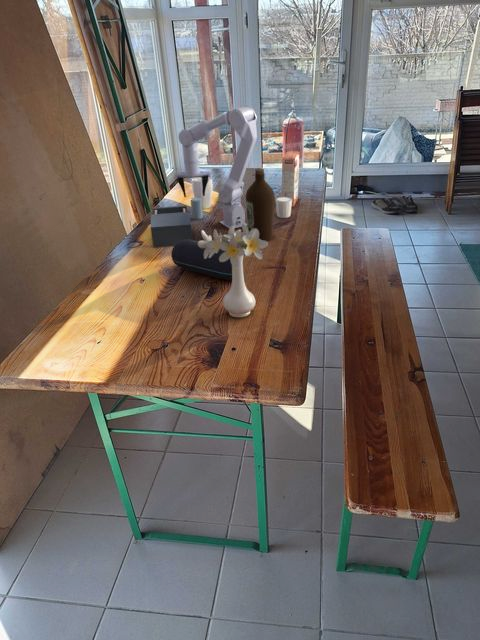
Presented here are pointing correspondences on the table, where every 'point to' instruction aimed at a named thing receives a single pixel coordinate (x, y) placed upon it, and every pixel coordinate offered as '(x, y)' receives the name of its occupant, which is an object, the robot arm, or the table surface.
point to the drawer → (169, 209)
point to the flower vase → (235, 264)
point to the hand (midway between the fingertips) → (194, 195)
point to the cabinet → (170, 228)
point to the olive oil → (260, 206)
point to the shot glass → (283, 207)
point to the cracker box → (290, 175)
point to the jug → (196, 208)
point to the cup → (198, 192)
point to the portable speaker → (200, 260)
